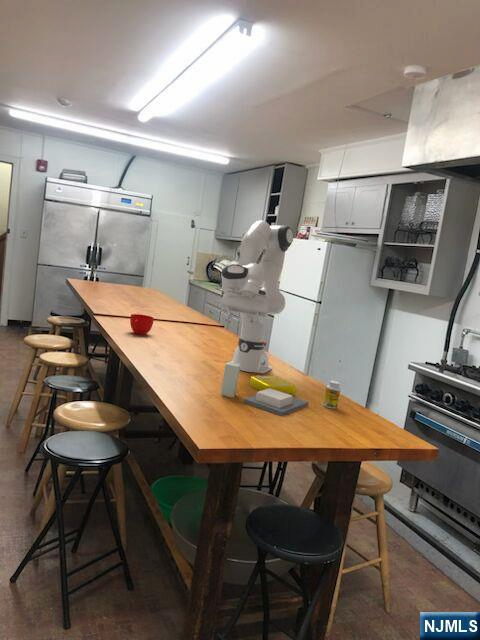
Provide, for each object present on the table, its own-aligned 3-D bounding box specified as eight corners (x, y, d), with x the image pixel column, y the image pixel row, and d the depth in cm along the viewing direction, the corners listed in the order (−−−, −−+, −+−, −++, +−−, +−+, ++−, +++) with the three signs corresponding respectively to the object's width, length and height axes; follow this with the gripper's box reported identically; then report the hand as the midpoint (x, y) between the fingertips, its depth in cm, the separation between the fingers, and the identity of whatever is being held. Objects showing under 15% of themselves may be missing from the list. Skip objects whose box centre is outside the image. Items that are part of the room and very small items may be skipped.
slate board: (272, 393, 201) (274, 383, 201) (307, 405, 193) (309, 394, 192) (243, 402, 183) (245, 390, 182) (281, 416, 174) (284, 403, 174)
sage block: (222, 391, 193) (227, 361, 191) (235, 394, 192) (240, 364, 190) (220, 394, 188) (225, 364, 186) (233, 397, 187) (238, 366, 185)
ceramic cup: (121, 333, 272) (124, 315, 271) (133, 330, 289) (135, 313, 288) (144, 338, 270) (146, 320, 269) (154, 334, 287) (157, 317, 286)
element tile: (268, 396, 198) (270, 385, 197) (247, 385, 210) (249, 374, 209) (297, 396, 206) (299, 385, 205) (275, 385, 218) (277, 374, 218)
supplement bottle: (326, 408, 193) (331, 383, 192) (320, 403, 199) (325, 379, 197) (339, 409, 195) (344, 384, 193) (333, 405, 200) (338, 380, 199)
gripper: (224, 285, 209) (215, 309, 201) (272, 293, 206) (265, 319, 198) (224, 295, 214) (216, 319, 206) (271, 303, 211) (264, 328, 203)
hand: (240, 319), depth 202 cm, fingers open, 8 cm apart
